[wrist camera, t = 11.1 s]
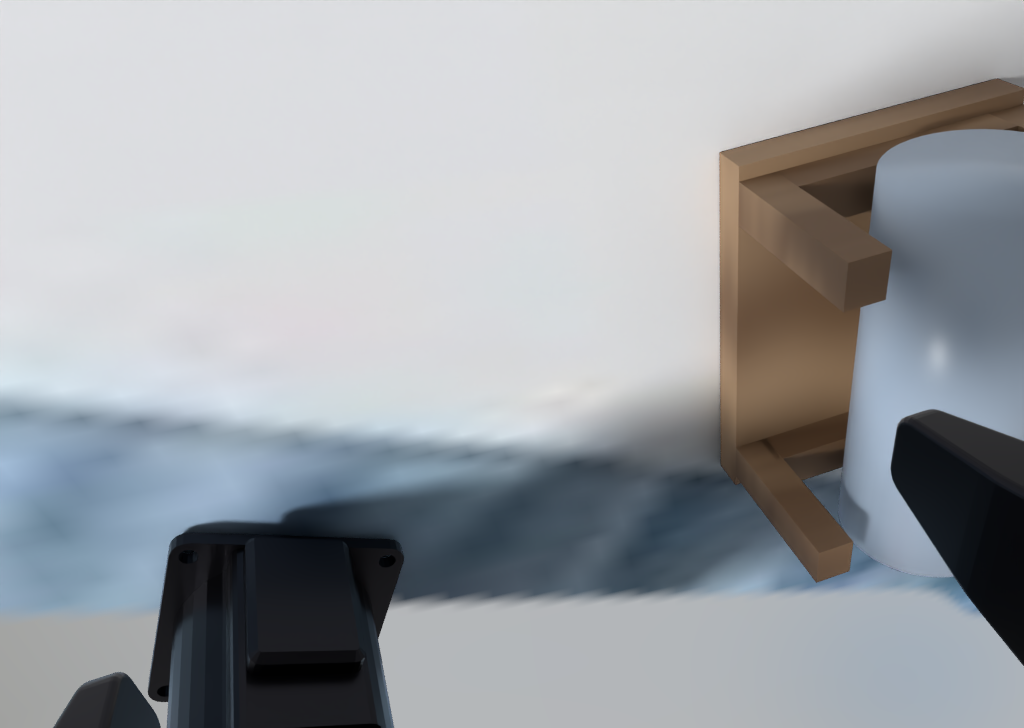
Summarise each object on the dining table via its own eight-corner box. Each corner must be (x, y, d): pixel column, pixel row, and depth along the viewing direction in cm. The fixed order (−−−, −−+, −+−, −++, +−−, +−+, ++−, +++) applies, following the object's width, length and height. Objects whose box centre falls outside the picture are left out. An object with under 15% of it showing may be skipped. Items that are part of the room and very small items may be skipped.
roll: (922, 447, 27) (1040, 539, 23) (806, 497, 26) (912, 601, 23) (984, 114, 20) (1160, 173, 17) (833, 165, 19) (987, 239, 16)
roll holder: (936, 395, 28) (1066, 503, 24) (720, 465, 27) (815, 592, 23) (997, 78, 22) (1187, 147, 18) (719, 152, 21) (850, 245, 17)
